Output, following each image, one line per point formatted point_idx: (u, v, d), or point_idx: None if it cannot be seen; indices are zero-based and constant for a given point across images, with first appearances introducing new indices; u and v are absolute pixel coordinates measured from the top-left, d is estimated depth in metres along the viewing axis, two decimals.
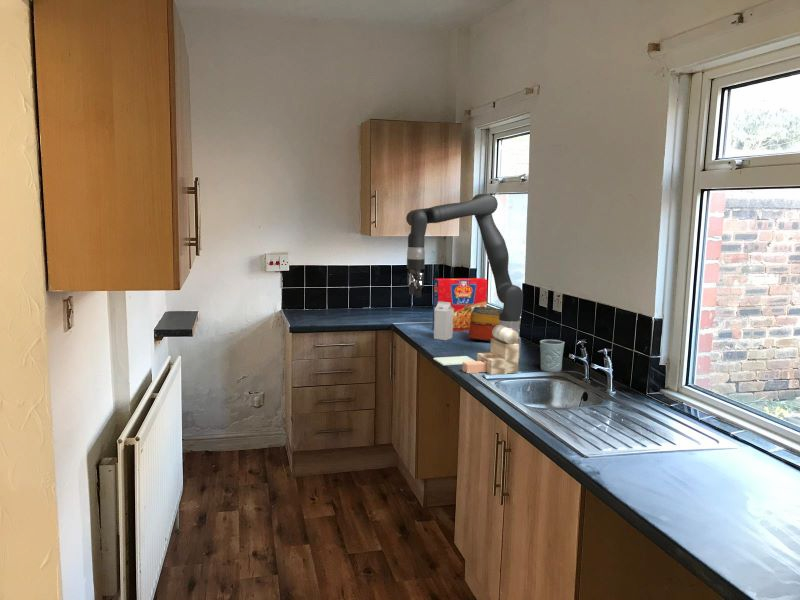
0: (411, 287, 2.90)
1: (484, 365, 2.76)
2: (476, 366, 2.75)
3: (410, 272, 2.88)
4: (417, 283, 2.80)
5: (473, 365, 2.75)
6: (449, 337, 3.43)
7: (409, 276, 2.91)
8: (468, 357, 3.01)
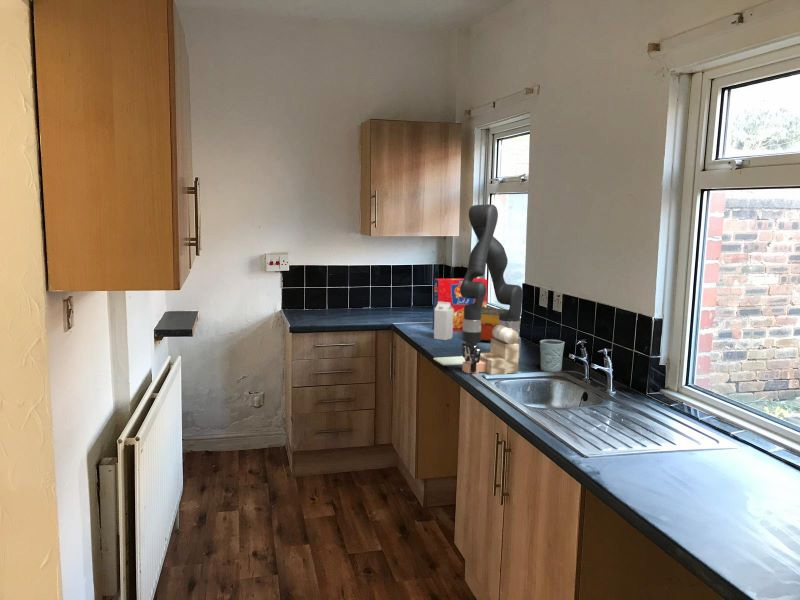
0: None
1: (484, 364, 2.76)
2: (477, 366, 2.75)
3: (465, 344, 2.79)
4: (473, 358, 2.71)
5: None
6: (449, 337, 3.43)
7: (464, 349, 2.81)
8: None
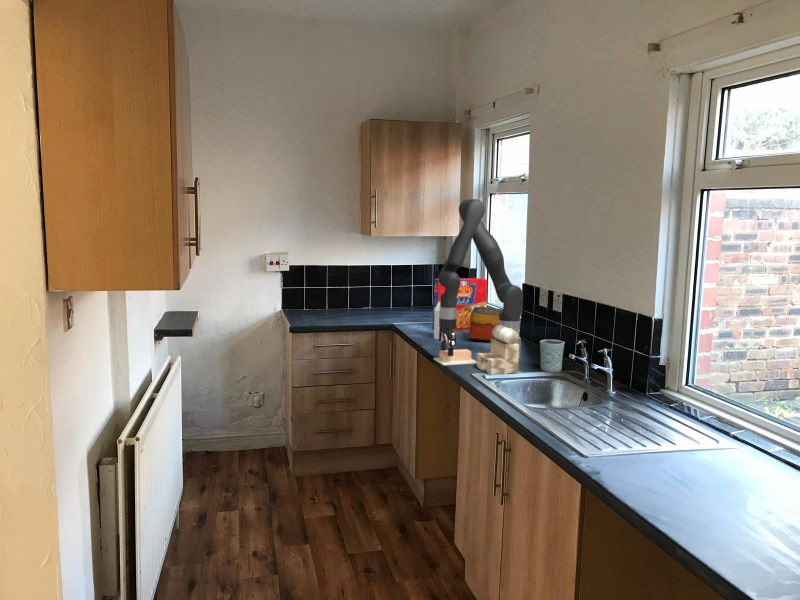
0: (443, 345, 2.97)
1: (459, 353, 2.93)
2: None
3: (442, 330, 2.96)
4: (450, 343, 2.87)
5: None
6: None
7: (441, 334, 2.98)
8: None
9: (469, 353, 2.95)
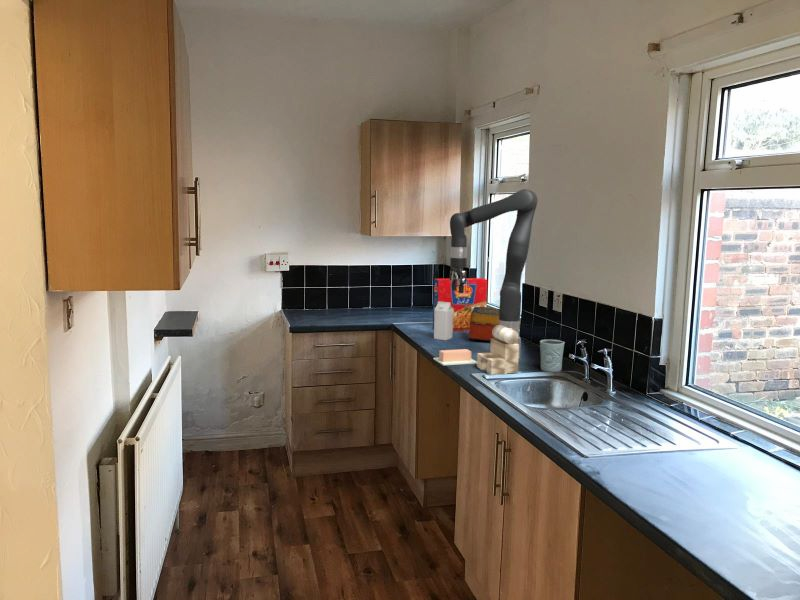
0: (453, 284, 3.15)
1: (459, 353, 2.93)
2: (452, 354, 2.92)
3: (453, 270, 3.14)
4: (460, 280, 3.05)
5: (449, 354, 2.92)
6: (449, 337, 3.43)
7: (451, 273, 3.16)
8: None
9: (469, 353, 2.95)
